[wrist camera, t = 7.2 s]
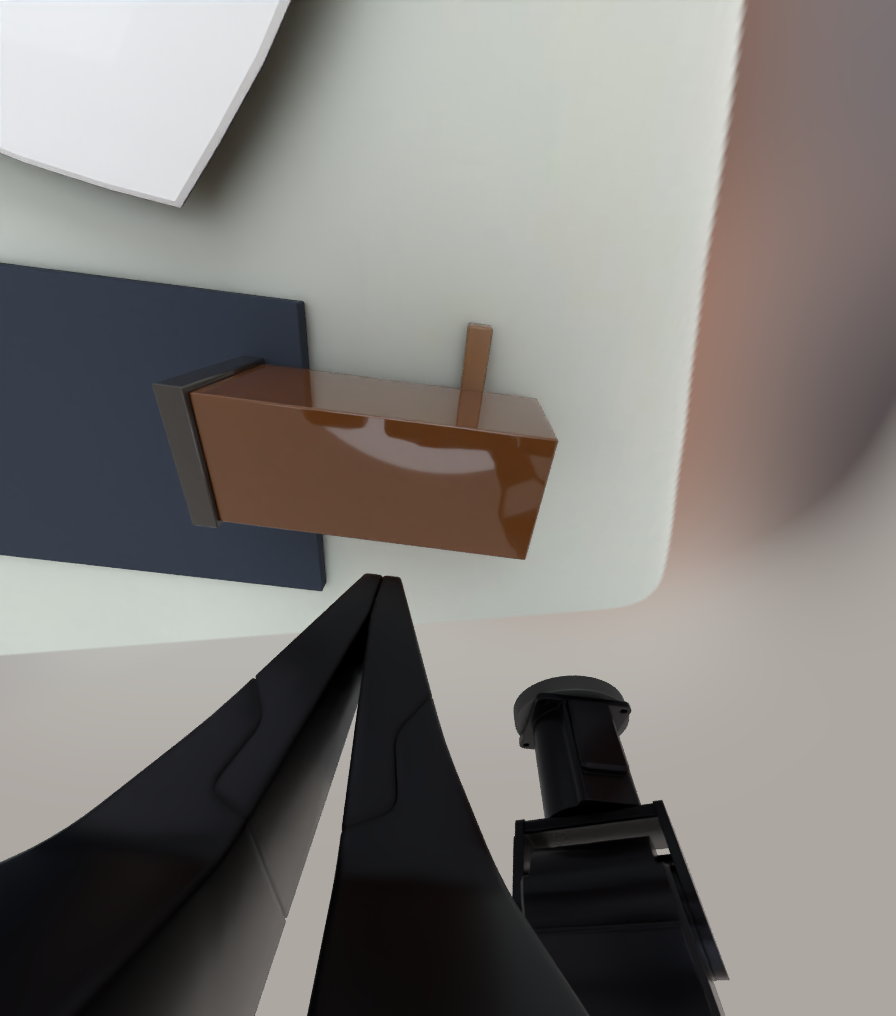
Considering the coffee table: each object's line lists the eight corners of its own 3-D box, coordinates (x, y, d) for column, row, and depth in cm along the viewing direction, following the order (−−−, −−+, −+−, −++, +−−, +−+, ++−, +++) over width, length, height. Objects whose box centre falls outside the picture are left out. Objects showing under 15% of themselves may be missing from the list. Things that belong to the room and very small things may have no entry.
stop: (461, 519, 21) (461, 532, 20) (444, 517, 21) (442, 529, 20) (491, 325, 16) (493, 328, 15) (468, 322, 16) (468, 325, 15)
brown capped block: (524, 568, 15) (192, 525, 15) (513, 499, 19) (260, 466, 19) (561, 436, 12) (150, 383, 12) (537, 392, 16) (242, 354, 16)
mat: (326, 583, 24) (322, 591, 24) (-151, 528, 24) (-169, 536, 23) (304, 301, 16) (297, 302, 15) (-429, 208, 15) (-471, 204, 15)
